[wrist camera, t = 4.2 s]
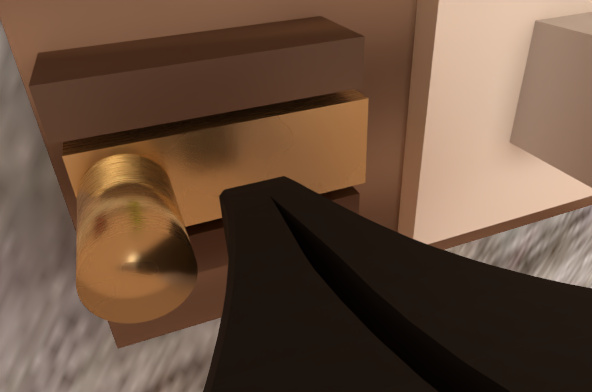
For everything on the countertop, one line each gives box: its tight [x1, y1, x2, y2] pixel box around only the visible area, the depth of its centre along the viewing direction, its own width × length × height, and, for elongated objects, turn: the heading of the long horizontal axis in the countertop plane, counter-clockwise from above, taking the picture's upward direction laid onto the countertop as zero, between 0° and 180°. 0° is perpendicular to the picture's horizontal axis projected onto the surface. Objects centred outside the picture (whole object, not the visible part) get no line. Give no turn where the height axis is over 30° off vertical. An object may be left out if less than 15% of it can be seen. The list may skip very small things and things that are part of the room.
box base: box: [0, 0, 592, 348], centre depth 15 cm, size 14×24×4 cm, turn 93°
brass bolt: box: [62, 89, 369, 323], centre depth 11 cm, size 2×7×4 cm, turn 93°
